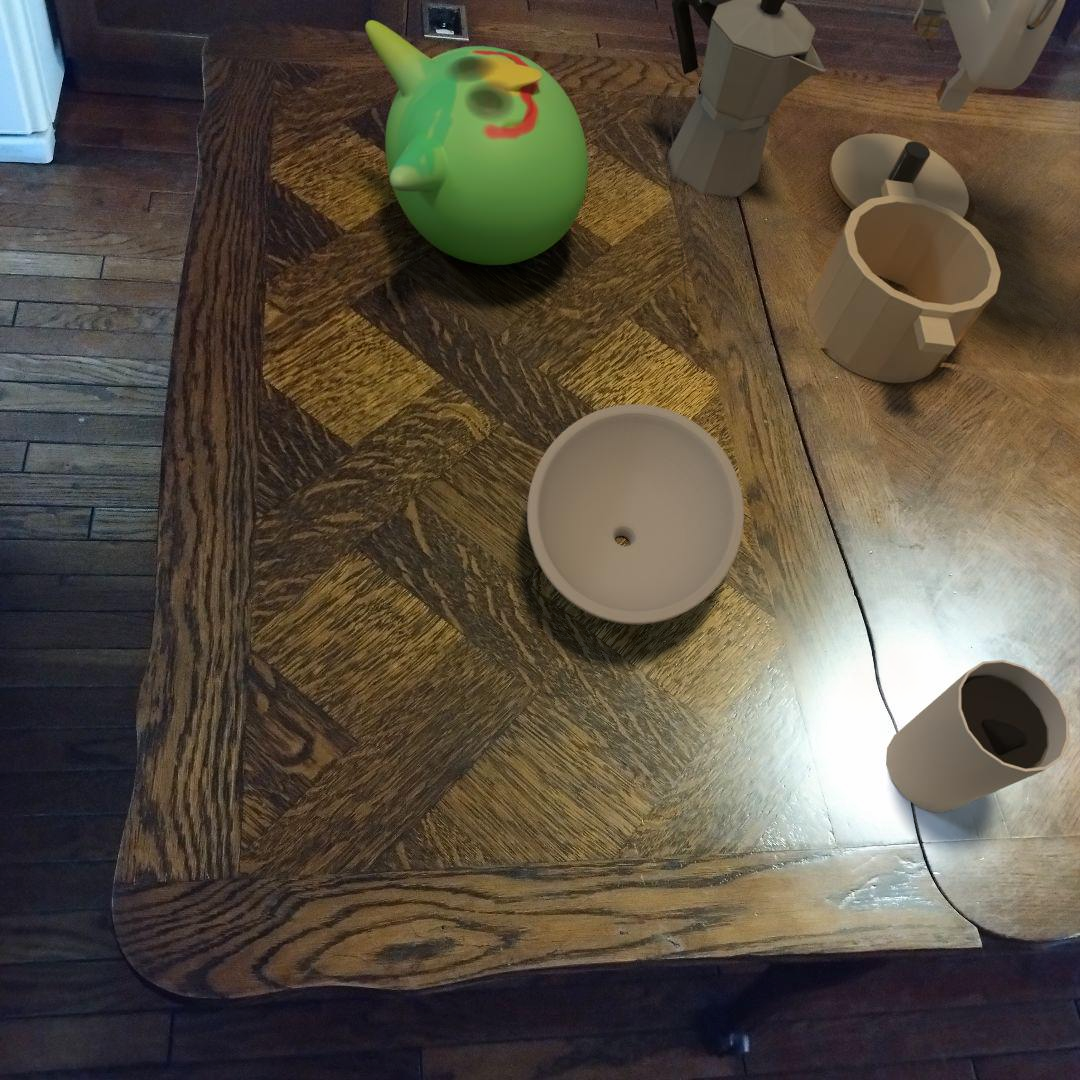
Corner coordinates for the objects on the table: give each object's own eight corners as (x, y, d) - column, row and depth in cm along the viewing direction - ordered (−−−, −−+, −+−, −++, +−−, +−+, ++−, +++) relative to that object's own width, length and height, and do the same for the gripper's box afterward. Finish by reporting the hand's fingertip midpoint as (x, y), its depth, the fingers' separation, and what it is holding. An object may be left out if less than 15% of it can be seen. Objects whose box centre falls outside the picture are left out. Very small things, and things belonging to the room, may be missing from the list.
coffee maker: (791, 187, 92) (875, 0, 77) (738, 229, 88) (816, 41, 73) (668, 104, 96) (725, -90, 81) (612, 141, 92) (661, -56, 76)
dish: (566, 417, 74) (578, 374, 70) (745, 485, 74) (768, 446, 69) (481, 608, 65) (489, 573, 61) (684, 689, 64) (707, 658, 60)
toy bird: (594, 296, 81) (635, 146, 69) (390, 312, 77) (394, 156, 65) (542, 150, 90) (570, -8, 77) (355, 157, 85) (353, -8, 73)
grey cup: (996, 801, 64) (1093, 752, 55) (911, 832, 62) (998, 786, 53) (944, 708, 67) (1028, 647, 58) (861, 735, 65) (936, 676, 56)
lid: (947, 153, 99) (971, 112, 95) (976, 249, 92) (1003, 210, 88) (817, 135, 97) (836, 92, 93) (837, 231, 90) (858, 190, 86)
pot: (925, 259, 90) (973, 184, 83) (966, 416, 81) (1025, 347, 73) (792, 242, 88) (830, 164, 81) (819, 400, 79) (864, 328, 72)
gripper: (1119, -26, 62) (1002, 158, 74) (1036, -184, 72) (945, -1, 84) (1025, -40, 61) (922, 148, 73) (954, -197, 72) (874, -11, 83)
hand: (934, 67), depth 79 cm, fingers open, 8 cm apart
